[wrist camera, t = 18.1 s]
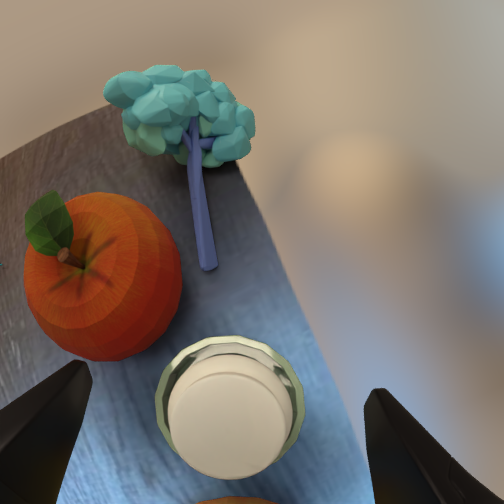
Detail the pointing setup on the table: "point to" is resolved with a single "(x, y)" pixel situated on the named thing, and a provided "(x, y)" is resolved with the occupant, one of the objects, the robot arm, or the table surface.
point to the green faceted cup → (235, 347)
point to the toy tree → (184, 129)
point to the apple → (237, 500)
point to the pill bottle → (229, 416)
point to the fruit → (100, 274)
